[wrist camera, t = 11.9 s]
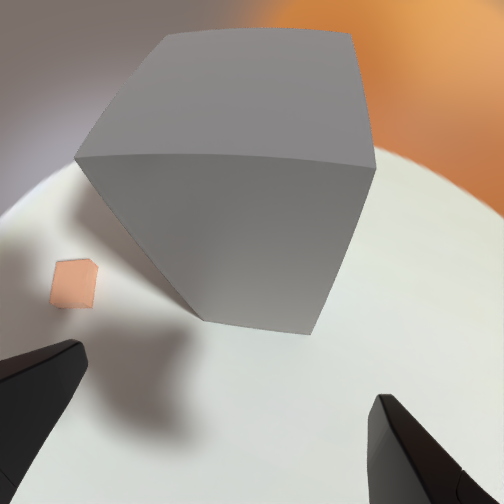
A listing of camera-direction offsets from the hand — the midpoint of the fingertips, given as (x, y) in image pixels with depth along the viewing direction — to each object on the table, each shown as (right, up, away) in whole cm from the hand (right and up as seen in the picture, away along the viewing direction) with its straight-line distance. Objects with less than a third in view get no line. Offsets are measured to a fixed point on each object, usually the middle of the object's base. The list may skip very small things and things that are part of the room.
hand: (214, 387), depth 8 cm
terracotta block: (-11, +1, +11) cm, 16 cm away
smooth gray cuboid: (+2, +2, +10) cm, 10 cm away
